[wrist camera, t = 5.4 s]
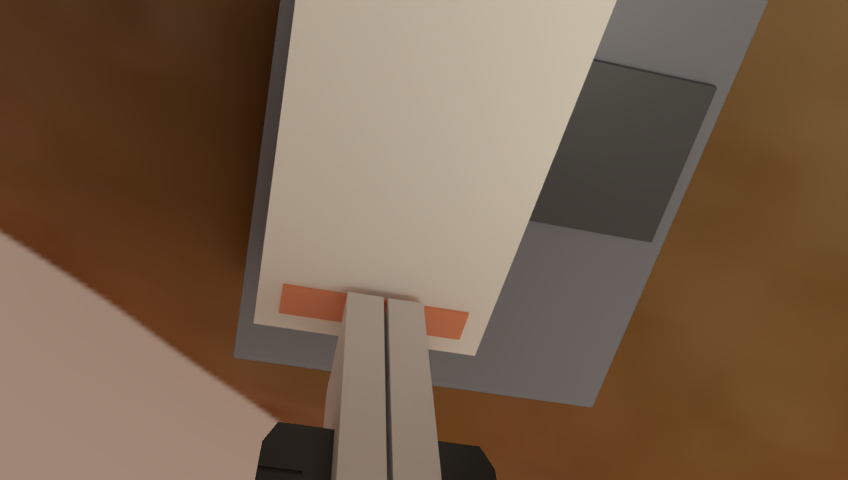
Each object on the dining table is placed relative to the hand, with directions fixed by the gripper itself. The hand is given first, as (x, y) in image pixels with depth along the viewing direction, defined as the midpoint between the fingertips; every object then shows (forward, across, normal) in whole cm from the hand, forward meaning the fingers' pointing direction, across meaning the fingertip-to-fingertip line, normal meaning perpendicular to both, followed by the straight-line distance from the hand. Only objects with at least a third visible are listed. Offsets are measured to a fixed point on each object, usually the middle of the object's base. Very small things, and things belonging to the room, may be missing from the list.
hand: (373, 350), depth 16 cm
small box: (+1, 0, +4) cm, 4 cm away
